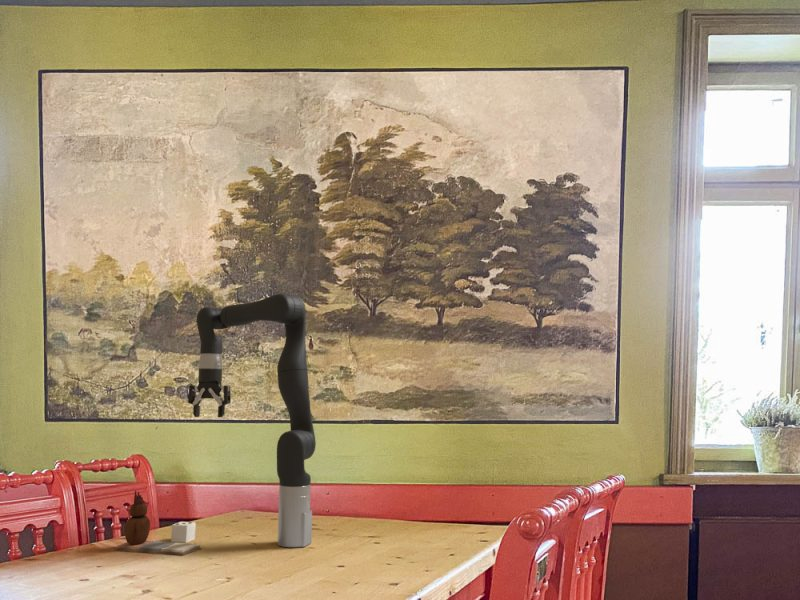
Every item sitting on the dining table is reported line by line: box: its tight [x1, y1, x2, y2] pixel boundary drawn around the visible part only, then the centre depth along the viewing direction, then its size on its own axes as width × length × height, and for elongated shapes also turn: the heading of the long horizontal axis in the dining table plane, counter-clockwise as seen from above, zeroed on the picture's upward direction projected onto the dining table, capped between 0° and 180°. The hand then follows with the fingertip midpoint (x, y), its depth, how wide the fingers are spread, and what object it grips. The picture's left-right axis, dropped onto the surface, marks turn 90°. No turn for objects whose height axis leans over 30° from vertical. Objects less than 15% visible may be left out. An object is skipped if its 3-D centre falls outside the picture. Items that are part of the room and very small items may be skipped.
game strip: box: [113, 540, 201, 557], centre depth 195 cm, size 22×9×1 cm, turn 77°
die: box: [170, 521, 196, 543], centre depth 206 cm, size 5×5×5 cm
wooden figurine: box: [124, 490, 151, 545], centre depth 197 cm, size 7×6×15 cm
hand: (208, 417), depth 224 cm, fingers open, 8 cm apart
